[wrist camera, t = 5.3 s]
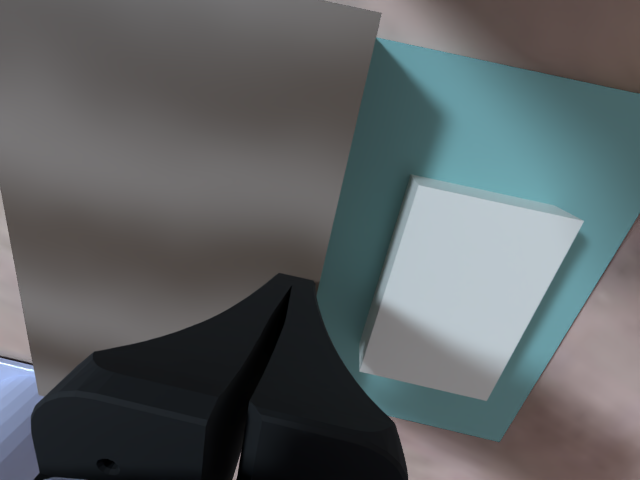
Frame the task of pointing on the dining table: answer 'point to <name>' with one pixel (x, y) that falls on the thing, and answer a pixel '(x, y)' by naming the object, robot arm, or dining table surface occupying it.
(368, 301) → the mat
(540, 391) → the dining table surface
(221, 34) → the grey flat block
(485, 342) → the white block
